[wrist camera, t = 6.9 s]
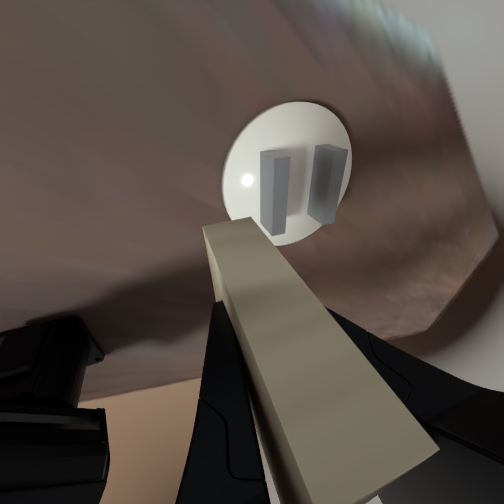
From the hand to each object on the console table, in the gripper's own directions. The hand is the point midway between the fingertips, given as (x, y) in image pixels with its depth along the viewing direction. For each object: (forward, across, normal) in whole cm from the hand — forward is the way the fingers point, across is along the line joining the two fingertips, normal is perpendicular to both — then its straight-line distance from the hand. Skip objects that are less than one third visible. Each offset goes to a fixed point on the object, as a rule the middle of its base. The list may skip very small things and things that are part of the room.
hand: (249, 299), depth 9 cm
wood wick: (+2, 0, 0) cm, 2 cm away
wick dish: (+12, -8, 0) cm, 15 cm away
